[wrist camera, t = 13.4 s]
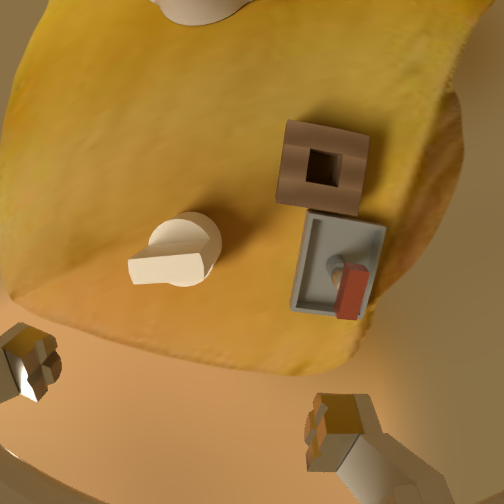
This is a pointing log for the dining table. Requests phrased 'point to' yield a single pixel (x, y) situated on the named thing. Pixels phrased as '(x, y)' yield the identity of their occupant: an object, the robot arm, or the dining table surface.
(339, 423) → the robot arm
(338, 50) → the dining table surface
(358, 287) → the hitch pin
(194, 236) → the base with upright slab
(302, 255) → the tray
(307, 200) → the wooden square hole block
